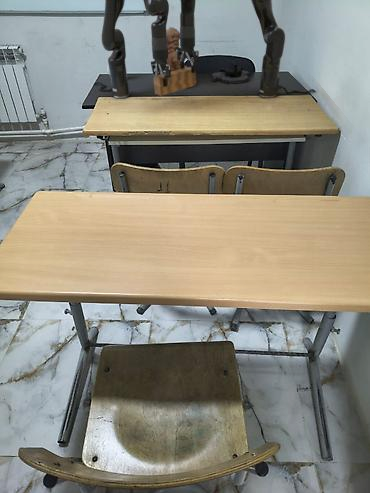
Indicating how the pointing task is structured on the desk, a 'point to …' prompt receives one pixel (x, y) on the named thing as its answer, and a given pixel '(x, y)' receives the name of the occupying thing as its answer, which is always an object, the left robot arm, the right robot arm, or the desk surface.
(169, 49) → the sculpture
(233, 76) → the abstract sculpture
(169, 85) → the bar
